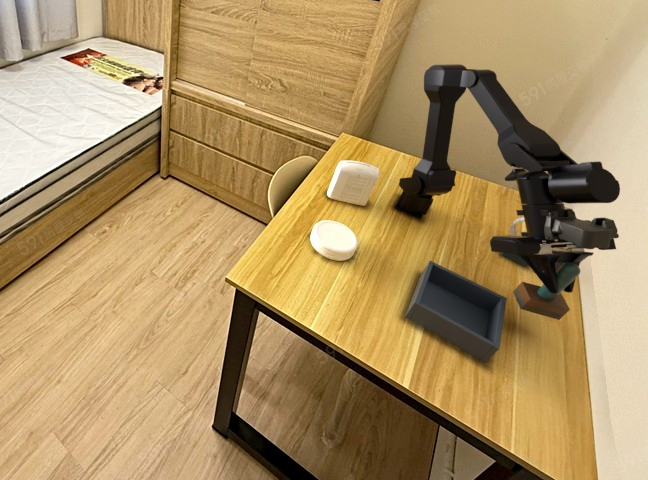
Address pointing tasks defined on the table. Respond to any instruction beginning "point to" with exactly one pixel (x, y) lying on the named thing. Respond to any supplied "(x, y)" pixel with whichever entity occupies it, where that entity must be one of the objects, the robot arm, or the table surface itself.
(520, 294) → the teal handled stamp
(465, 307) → the basket
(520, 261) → the watch
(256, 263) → the table surface
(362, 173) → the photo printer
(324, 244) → the white thick round disc
